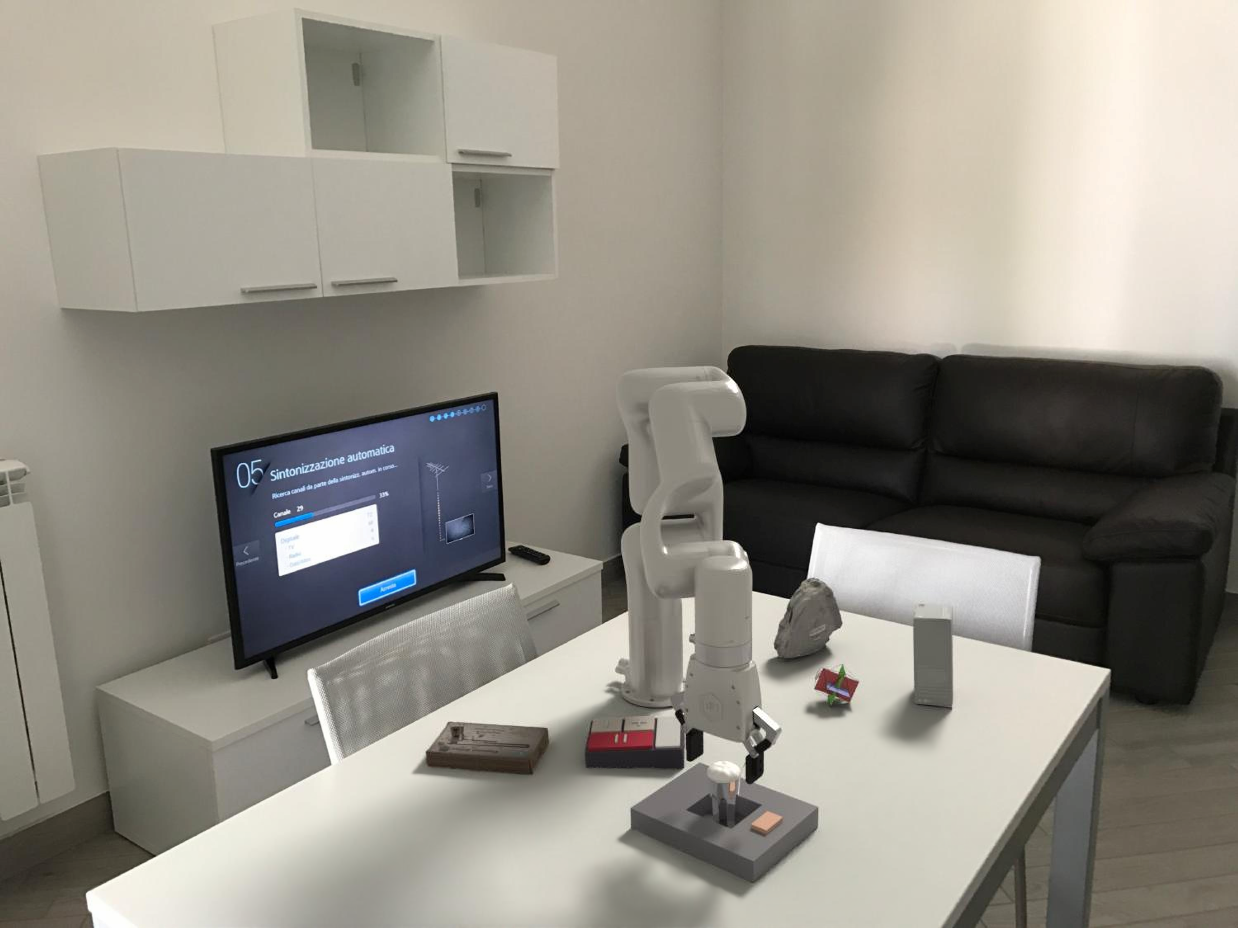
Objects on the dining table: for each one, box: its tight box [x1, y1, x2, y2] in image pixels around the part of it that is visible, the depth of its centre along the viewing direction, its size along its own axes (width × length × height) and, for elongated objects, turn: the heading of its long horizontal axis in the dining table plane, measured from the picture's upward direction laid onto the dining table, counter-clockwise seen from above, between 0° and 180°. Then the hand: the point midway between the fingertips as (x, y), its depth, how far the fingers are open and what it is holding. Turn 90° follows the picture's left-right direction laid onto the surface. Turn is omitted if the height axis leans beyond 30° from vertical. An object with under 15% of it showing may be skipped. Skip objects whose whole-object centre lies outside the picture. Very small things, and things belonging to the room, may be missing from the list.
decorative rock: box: [773, 577, 843, 659], centre depth 198 cm, size 16×7×15 cm, turn 124°
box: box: [425, 721, 550, 775], centre depth 163 cm, size 11×17×3 cm, turn 78°
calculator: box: [584, 715, 686, 770], centre depth 162 cm, size 11×4×15 cm
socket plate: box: [629, 762, 819, 883], centre depth 141 cm, size 20×16×4 cm
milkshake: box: [707, 760, 745, 829], centre depth 140 cm, size 4×5×10 cm
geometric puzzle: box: [813, 663, 860, 708], centre depth 177 cm, size 7×7×8 cm
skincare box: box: [912, 603, 954, 708], centre depth 177 cm, size 8×7×16 cm
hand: (723, 768), depth 139 cm, fingers open, 9 cm apart
